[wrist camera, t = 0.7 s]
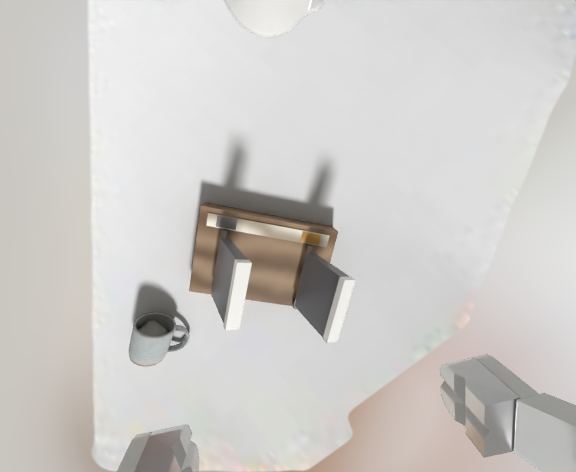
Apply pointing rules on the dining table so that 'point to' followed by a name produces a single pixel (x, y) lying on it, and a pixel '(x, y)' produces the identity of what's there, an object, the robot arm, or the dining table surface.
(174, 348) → the ceramic mug
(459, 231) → the dining table surface
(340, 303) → the grey board
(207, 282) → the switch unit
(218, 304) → the lever slate
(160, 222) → the dining table surface
